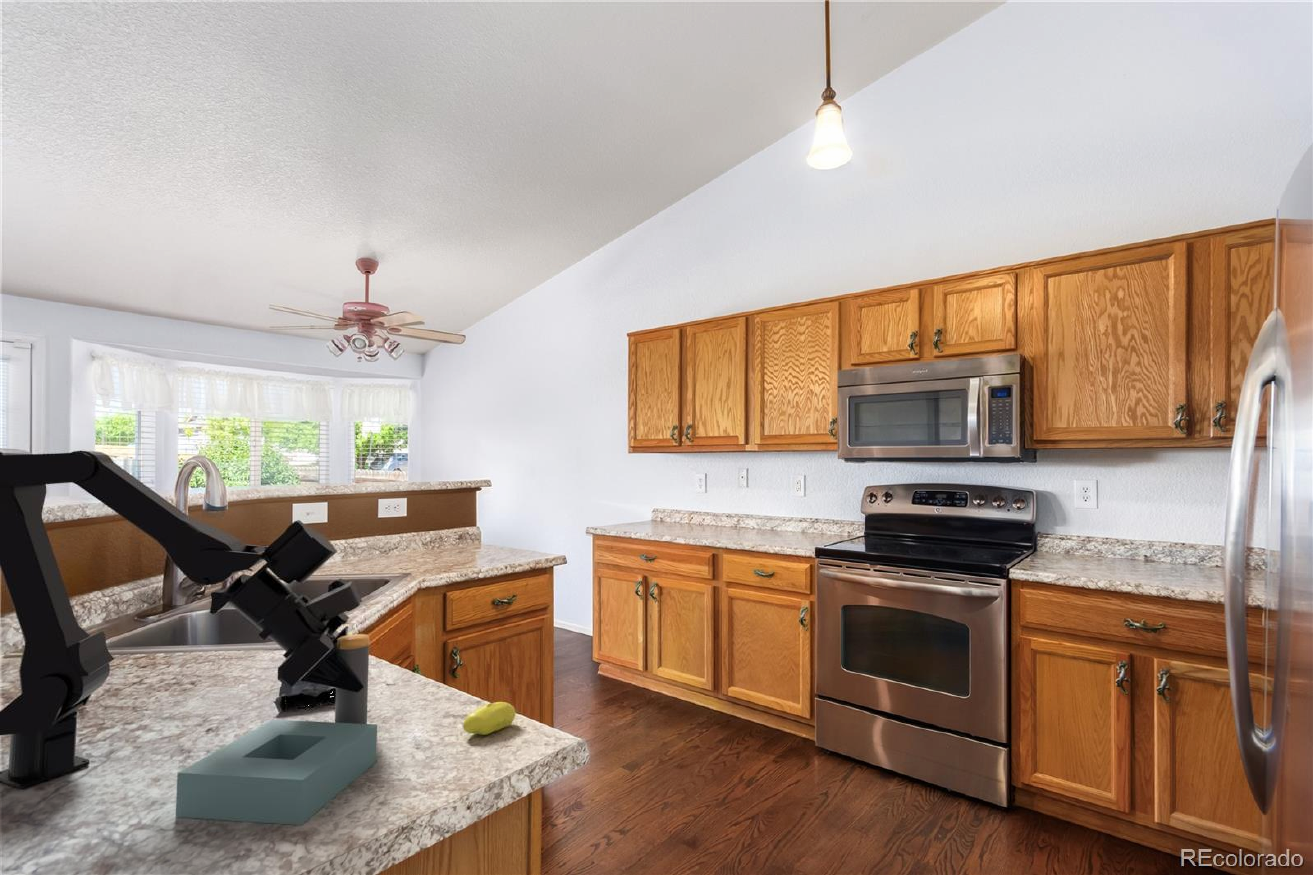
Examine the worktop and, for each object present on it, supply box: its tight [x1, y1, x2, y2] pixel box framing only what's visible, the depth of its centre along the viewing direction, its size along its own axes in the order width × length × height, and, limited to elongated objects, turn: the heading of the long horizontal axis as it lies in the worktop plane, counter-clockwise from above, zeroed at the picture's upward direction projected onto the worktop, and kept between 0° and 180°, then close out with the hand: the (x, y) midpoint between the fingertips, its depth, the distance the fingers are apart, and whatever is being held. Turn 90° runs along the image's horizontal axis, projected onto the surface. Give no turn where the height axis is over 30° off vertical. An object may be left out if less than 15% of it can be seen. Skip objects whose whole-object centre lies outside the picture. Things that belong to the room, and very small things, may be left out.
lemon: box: [462, 701, 516, 736], centre depth 87 cm, size 4×8×4 cm, turn 132°
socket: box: [175, 719, 378, 826], centre depth 71 cm, size 14×14×4 cm
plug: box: [334, 633, 370, 724], centre depth 86 cm, size 4×4×13 cm
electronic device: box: [273, 679, 336, 714], centre depth 101 cm, size 9×6×15 cm
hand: (363, 684), depth 86 cm, fingers closed on plug, 4 cm apart
